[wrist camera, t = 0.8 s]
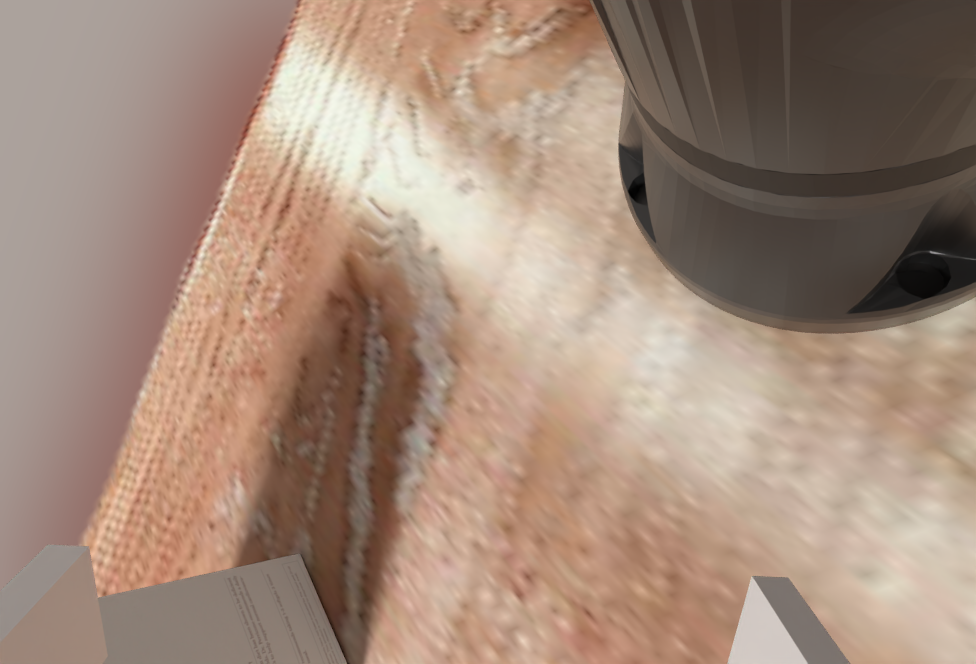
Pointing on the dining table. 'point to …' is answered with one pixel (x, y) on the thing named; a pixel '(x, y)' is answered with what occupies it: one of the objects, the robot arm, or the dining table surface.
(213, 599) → the supplement box
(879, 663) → the dining table surface
